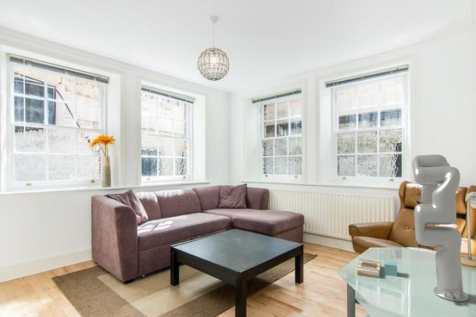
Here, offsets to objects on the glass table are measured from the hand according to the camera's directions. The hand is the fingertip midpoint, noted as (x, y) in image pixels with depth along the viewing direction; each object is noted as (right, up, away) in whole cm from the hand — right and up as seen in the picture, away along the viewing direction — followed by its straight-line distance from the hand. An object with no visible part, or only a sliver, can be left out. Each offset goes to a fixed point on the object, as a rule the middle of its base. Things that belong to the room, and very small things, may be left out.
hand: (432, 212), depth 161 cm
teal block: (-33, -32, -14) cm, 48 cm away
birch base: (-43, -33, -8) cm, 54 cm away
